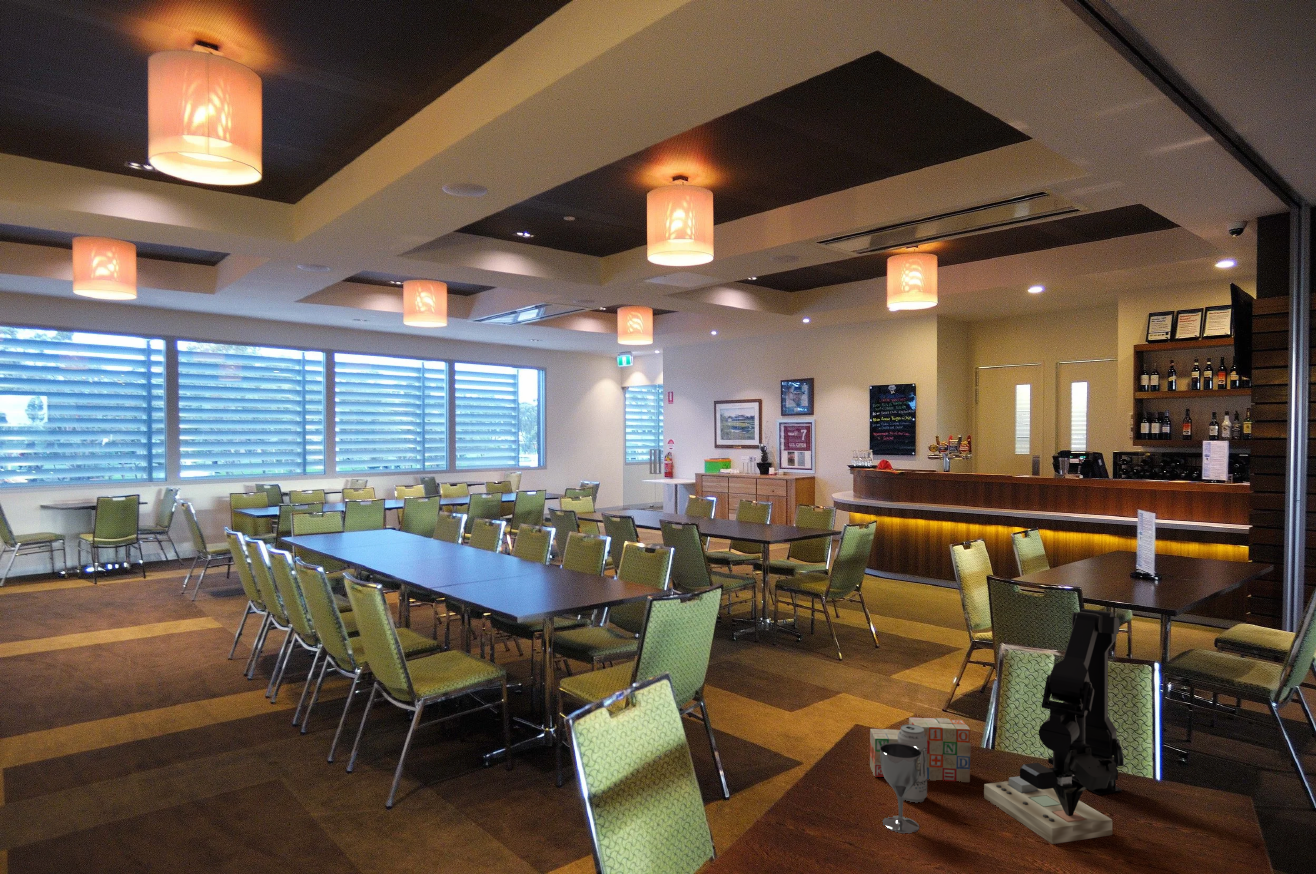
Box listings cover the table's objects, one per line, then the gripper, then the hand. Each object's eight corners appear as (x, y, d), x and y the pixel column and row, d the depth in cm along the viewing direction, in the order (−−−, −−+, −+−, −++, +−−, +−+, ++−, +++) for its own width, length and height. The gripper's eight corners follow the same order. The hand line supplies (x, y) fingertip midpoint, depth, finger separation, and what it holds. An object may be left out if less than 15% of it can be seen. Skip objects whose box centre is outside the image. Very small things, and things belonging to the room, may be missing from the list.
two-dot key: (1069, 818, 158) (1069, 809, 158) (1085, 828, 154) (1085, 818, 154) (1053, 821, 157) (1052, 811, 157) (1068, 830, 153) (1068, 821, 153)
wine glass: (882, 832, 155) (882, 756, 155) (877, 813, 163) (878, 741, 163) (924, 836, 153) (924, 759, 153) (917, 816, 161) (917, 743, 161)
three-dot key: (1024, 784, 171) (1024, 775, 171) (1037, 792, 167) (1037, 783, 167) (1008, 786, 170) (1008, 777, 170) (1021, 794, 166) (1021, 785, 166)
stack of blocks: (874, 778, 180) (874, 725, 180) (869, 767, 186) (869, 715, 186) (970, 782, 178) (970, 728, 178) (962, 771, 184) (962, 718, 184)
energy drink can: (916, 806, 166) (916, 735, 166) (892, 796, 170) (892, 727, 171) (932, 798, 169) (932, 729, 169) (908, 789, 174) (908, 721, 174)
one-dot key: (1046, 804, 164) (1046, 795, 164) (1060, 813, 160) (1060, 804, 160) (1030, 806, 163) (1029, 797, 163) (1043, 815, 159) (1043, 806, 159)
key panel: (1038, 790, 173) (1038, 776, 173) (1112, 835, 154) (1112, 818, 154) (984, 798, 170) (984, 783, 170) (1052, 844, 150) (1052, 827, 150)
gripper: (1059, 756, 146) (1059, 841, 145) (1141, 747, 150) (1141, 828, 150) (1017, 735, 156) (1018, 813, 156) (1095, 726, 161) (1095, 802, 161)
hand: (1068, 815), depth 156 cm, fingers closed, pressing on two-dot key
